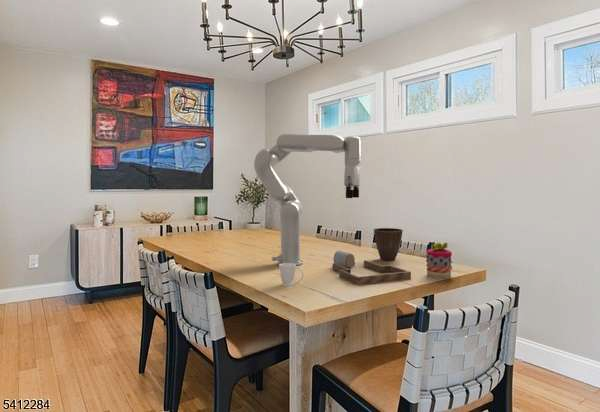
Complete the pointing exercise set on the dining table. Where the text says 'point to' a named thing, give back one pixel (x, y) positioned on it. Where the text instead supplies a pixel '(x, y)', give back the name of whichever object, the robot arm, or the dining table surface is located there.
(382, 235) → the plant pot
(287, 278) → the cup
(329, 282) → the dining table surface
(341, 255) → the ceramic mug
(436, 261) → the cake
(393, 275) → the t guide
